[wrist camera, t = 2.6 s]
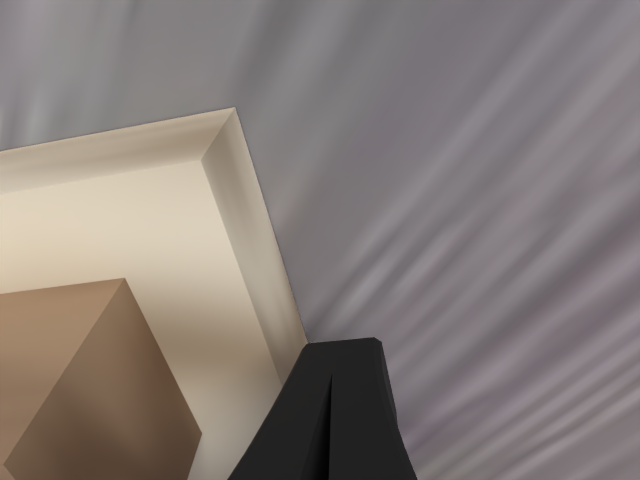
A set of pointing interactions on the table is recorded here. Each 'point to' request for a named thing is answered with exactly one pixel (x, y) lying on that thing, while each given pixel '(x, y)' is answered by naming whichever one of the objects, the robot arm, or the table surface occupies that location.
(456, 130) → the table surface
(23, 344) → the walnut block
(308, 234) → the table surface
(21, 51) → the table surface
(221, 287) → the board
